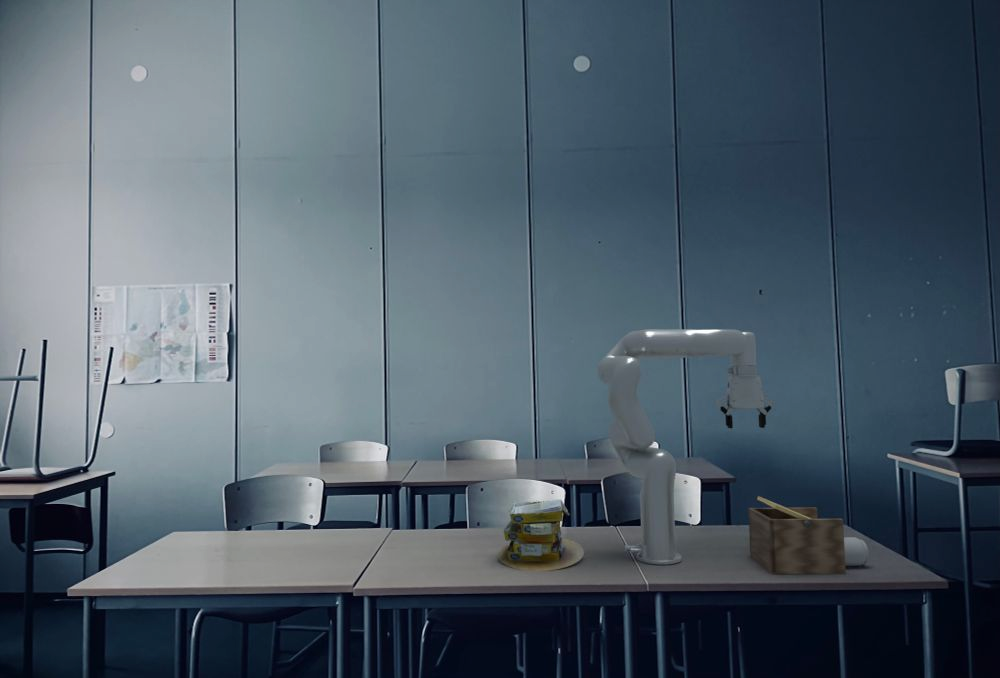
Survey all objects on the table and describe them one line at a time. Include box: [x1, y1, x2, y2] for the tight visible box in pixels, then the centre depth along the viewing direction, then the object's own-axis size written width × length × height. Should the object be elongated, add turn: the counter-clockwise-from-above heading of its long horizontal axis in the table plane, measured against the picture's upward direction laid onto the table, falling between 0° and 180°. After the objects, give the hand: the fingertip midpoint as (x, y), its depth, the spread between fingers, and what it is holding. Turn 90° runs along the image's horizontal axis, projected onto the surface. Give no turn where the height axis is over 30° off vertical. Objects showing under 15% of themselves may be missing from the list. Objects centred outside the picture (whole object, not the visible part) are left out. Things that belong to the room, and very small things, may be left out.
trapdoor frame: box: [748, 506, 847, 575], centre depth 186 cm, size 19×19×14 cm
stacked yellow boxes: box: [497, 499, 585, 572], centre depth 197 cm, size 25×25×17 cm
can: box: [844, 536, 870, 567], centre depth 185 cm, size 8×8×12 cm
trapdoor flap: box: [756, 495, 811, 519], centre depth 187 cm, size 16×14×1 cm
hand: (745, 427), depth 207 cm, fingers open, 9 cm apart
